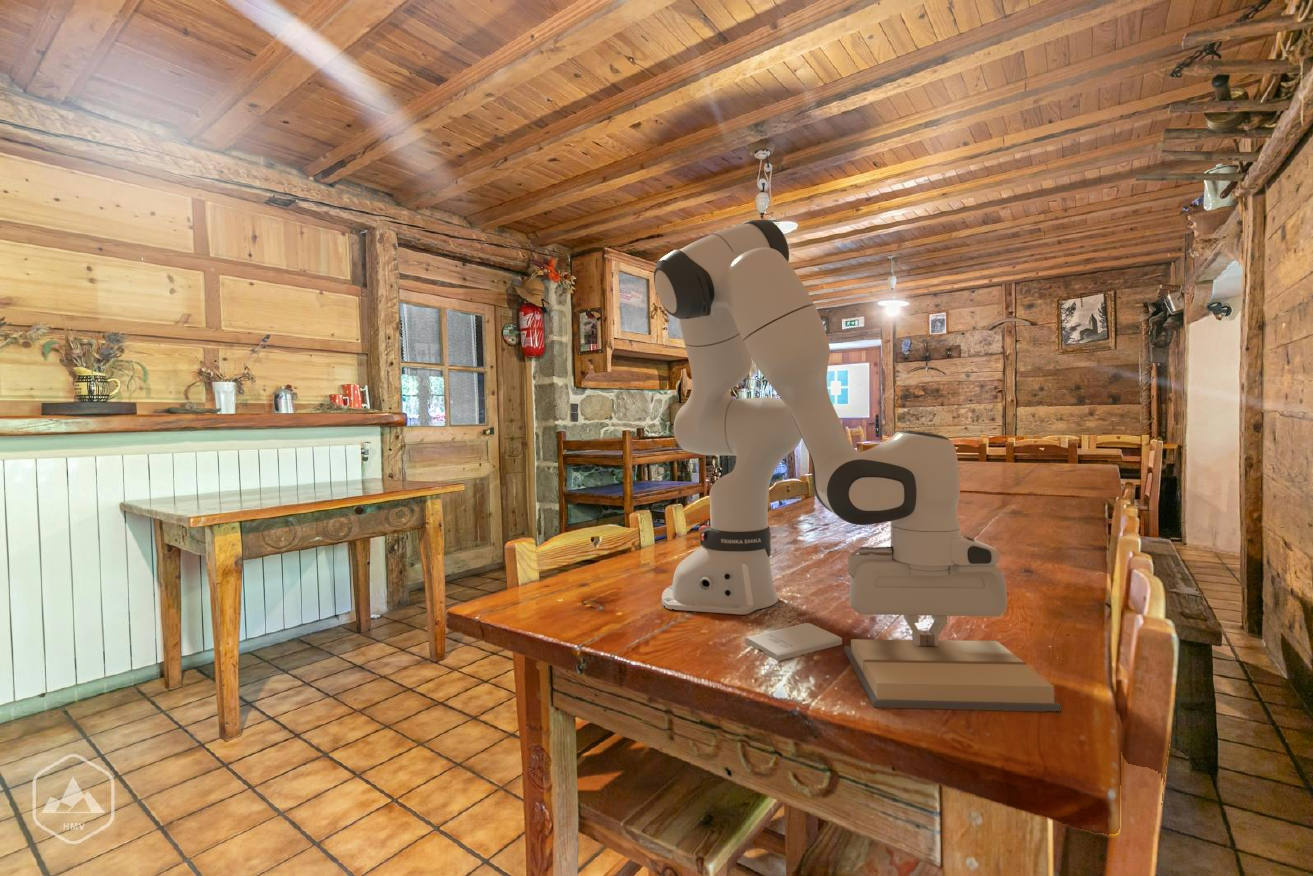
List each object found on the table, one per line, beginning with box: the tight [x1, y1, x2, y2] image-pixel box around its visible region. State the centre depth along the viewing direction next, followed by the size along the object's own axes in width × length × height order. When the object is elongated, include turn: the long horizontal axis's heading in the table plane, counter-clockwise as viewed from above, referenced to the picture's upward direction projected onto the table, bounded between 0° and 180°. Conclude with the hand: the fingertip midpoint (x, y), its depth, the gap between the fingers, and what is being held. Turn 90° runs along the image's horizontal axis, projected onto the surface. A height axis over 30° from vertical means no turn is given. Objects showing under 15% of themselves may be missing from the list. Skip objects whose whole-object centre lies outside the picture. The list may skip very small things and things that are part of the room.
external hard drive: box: [744, 622, 843, 662], centre depth 91 cm, size 2×8×12 cm
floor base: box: [843, 645, 1062, 713], centre depth 77 cm, size 21×17×3 cm
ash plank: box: [850, 638, 1024, 674], centre depth 80 cm, size 20×7×2 cm, turn 84°
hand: (925, 645), depth 82 cm, fingers closed, pressing on ash plank
